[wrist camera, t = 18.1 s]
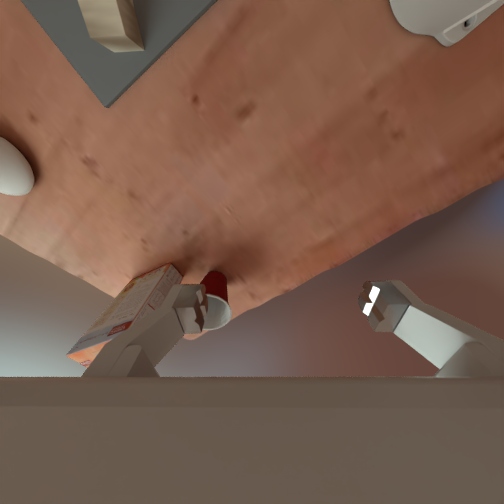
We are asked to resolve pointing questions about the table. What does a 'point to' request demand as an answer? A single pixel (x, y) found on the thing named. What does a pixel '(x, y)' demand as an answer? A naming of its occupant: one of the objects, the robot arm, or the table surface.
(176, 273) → the cracker box
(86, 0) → the birch block
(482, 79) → the table surface
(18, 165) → the flower in vase
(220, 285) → the plastic cup
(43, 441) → the robot arm
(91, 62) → the slate mat
